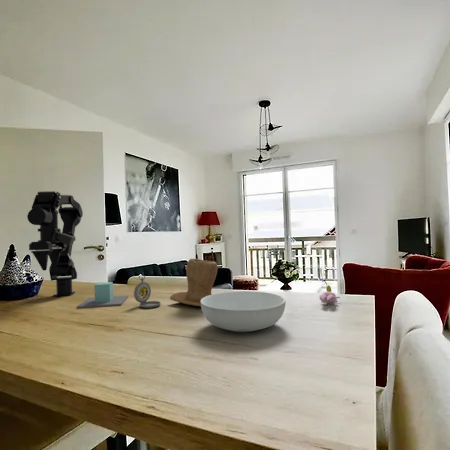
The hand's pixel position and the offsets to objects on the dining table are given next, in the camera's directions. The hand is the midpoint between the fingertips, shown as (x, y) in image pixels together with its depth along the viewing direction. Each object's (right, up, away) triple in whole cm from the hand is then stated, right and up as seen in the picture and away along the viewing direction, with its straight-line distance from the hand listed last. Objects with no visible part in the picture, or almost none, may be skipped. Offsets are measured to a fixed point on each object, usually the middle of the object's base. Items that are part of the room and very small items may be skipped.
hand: (49, 268), depth 117 cm
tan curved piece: (+54, -10, -11) cm, 56 cm away
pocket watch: (+38, -11, -11) cm, 41 cm away
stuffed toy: (+96, -9, -16) cm, 98 cm away
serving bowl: (+68, -9, -37) cm, 78 cm away
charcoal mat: (+21, -11, -3) cm, 24 cm away
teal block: (+21, -11, -3) cm, 24 cm away
